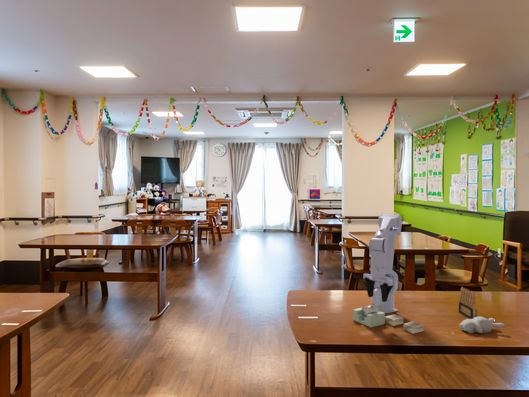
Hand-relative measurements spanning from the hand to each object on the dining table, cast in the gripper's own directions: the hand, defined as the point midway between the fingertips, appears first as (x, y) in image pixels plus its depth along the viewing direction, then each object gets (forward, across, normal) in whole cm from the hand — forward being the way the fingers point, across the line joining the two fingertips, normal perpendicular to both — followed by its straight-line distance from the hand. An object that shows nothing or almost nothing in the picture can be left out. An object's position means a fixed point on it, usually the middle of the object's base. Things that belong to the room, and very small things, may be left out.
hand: (377, 299), depth 162 cm
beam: (+9, +10, +4) cm, 14 cm away
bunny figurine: (+10, +28, +27) cm, 40 cm away
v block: (+9, -1, -4) cm, 10 cm away
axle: (+7, -1, -2) cm, 7 cm away
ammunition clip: (+10, +16, +38) cm, 42 cm away
